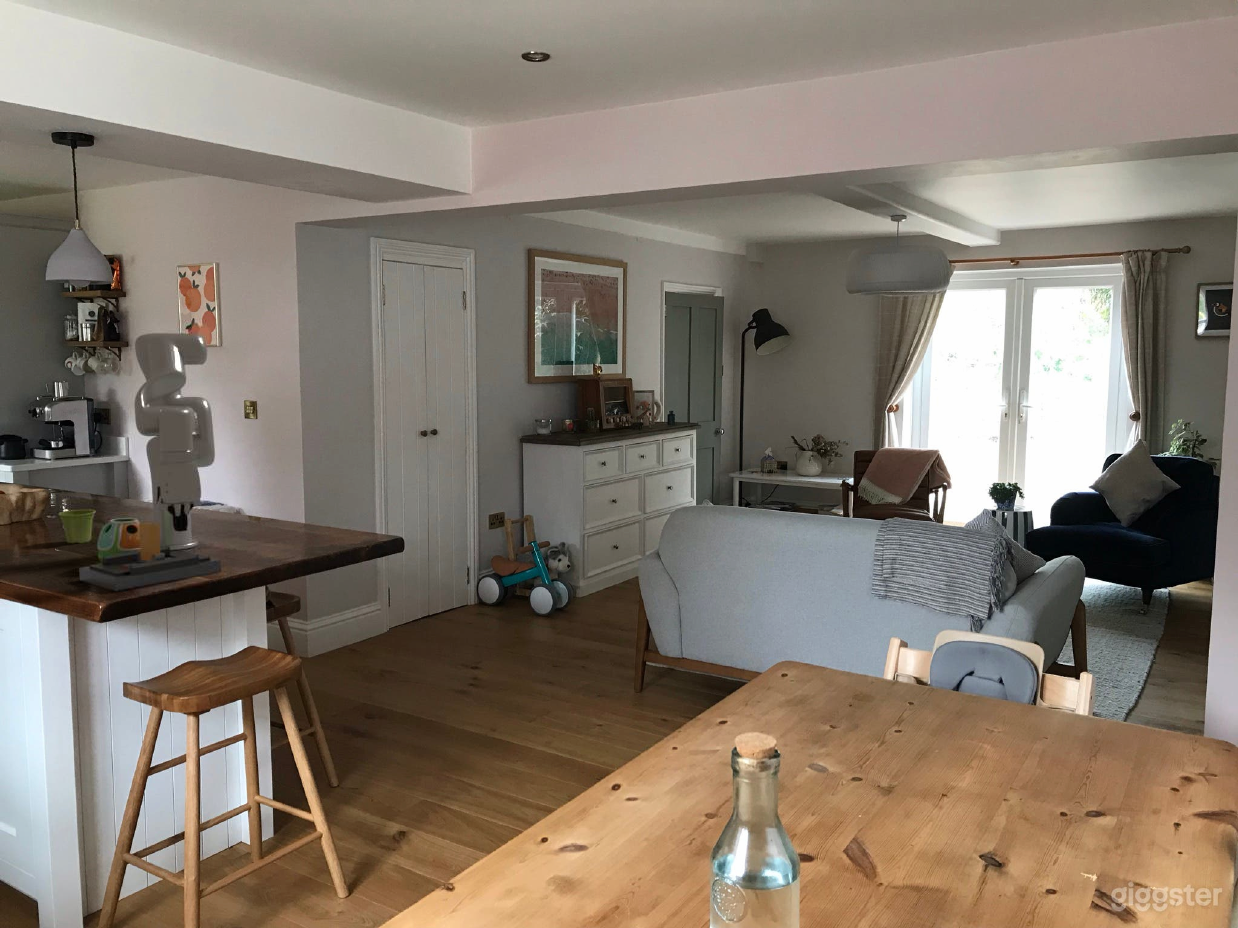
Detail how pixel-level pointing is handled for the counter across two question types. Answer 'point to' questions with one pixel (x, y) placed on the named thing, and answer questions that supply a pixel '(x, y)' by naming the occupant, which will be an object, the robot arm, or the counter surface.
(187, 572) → the grey base plate
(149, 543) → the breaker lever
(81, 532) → the plant pot
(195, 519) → the counter surface
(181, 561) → the stepped grey platform
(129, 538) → the turtle holder
